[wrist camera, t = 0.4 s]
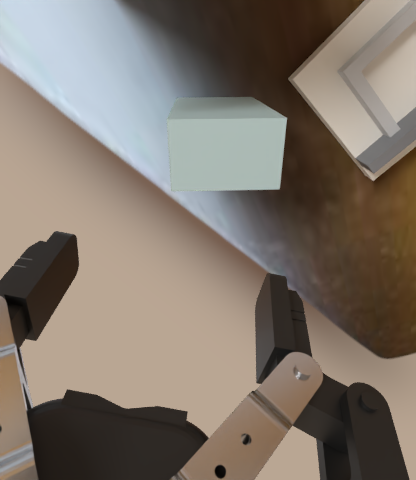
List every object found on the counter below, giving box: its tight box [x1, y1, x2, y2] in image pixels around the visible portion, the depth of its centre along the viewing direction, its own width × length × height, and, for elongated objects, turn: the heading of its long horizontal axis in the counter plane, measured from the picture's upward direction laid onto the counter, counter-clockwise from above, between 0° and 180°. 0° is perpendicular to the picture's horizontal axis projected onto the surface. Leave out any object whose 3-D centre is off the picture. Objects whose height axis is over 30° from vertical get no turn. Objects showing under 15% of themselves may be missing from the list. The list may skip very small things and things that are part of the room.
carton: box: [167, 97, 287, 191], centre depth 30 cm, size 5×8×15 cm, turn 90°
